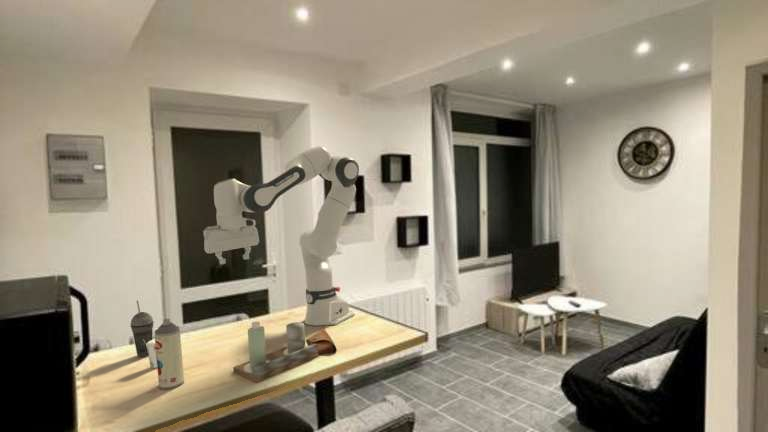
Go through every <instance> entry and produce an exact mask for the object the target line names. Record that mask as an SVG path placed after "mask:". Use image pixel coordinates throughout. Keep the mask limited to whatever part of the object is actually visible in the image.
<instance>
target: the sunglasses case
mask: <svg viewBox="0 0 768 432" xmlns="http://www.w3.org/2000/svg"><path fill="white" fill-rule="evenodd" d="M305 342H307V343H308V346H310V345H312V344H317V349H318V356H324V355H330V354H331V355H332V354H336V353H337V352H338V351H337V347H336V345H335V343H334V340H333V339H332V338H331V336H330V334H329V333H328V332H327V331H326V329H325V328H321V329H320V330H319V331H318V332H317V333H315V334H313V335H311V336H310V337H308V338H305Z"/></svg>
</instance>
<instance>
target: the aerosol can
mask: <svg viewBox="0 0 768 432" xmlns="http://www.w3.org/2000/svg"><path fill="white" fill-rule="evenodd" d="M170 320H171V319H170V318H163V323H162V324H161V325H160V326H158V327H157V329H156V330H155V331H154V339H155V346H156V358H157V368H156V369H157V378H158V379H157V381H158V388H159V389H160V390H162V391H165V390H166V391H167V390H174V389H176V388H180V387H181V386H182V385H184V383H185V377H184V364H183V353H182V339H181V329H180V327H179V326H178V325H176V324H175V323H173V322H171V321H170Z"/></svg>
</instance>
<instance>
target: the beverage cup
mask: <svg viewBox="0 0 768 432" xmlns="http://www.w3.org/2000/svg"><path fill="white" fill-rule="evenodd" d="M136 304H137V313H136V314H135V315H134V316H132V318H131V320H130V327H131V332H132V336H133V340H134V341H133V342H134V346H135V351H136V355H137V358H139V359H143V358H147V357H148V358H149V356H148V351H147V346H146V344H147V343H148V342H149V341H151V340H153V331H154V330H153V328H154V323H155V321H154V319H153V316H152V315H151V314H150V313H149V312H145V311H142V312H141V309H140V308H141V307H140V303H139V300H136ZM144 341H145V342H144ZM145 343H146V344H145Z"/></svg>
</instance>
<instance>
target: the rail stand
mask: <svg viewBox="0 0 768 432" xmlns="http://www.w3.org/2000/svg"><path fill="white" fill-rule="evenodd" d="M285 330H286V345H287V346H285V347H282V348H279V349H277V350H274V351H272V352H269V353H266V363H265V364H262V365H260V366H257V367H255V368H252V369H251V368H250V360H248V361H246V362H242V363H240V364H238V365H235V366H233V368H232V369H233V373H236V374H237V375H240V376H242V377H244V378H246V379H247V380H250V381H252V382H254V383H259V382H262V381H264V380H266V379H269V378H271V377H274V376H276V375H277V374H280V373H283V372H285V371H287V370H290V369H291V368H294V367H296V366H298V365H299V366H300V365H301V364H303V363H306V362H308V361H310V360H312V359H315V358H317V357H319V355H318V349H317V344H312V345H307V346H306V337H305V336H306V335H305V334H306V333H305V332H306V331H305V322H304V323H303V322H300V321H299V322H290V323H288V324H286V328H285Z"/></svg>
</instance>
